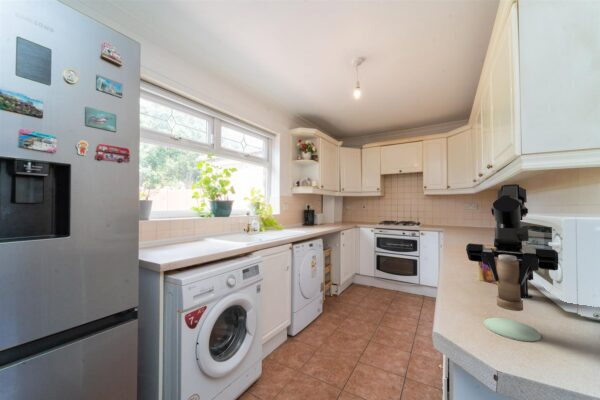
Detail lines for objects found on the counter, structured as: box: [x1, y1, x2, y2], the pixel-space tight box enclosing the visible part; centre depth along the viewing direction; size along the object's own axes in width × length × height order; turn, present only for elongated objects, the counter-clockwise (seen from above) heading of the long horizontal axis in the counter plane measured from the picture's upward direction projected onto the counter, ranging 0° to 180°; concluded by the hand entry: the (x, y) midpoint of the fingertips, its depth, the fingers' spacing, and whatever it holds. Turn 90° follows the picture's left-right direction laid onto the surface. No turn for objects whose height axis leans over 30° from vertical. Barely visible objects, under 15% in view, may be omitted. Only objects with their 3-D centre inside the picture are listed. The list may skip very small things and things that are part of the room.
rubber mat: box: [483, 317, 542, 342], centre depth 62 cm, size 11×11×1 cm
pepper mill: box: [496, 255, 524, 312], centre depth 63 cm, size 5×5×13 cm
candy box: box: [477, 243, 499, 285], centre depth 100 cm, size 9×4×15 cm, turn 26°
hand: (508, 282), depth 62 cm, fingers closed on pepper mill, 4 cm apart
